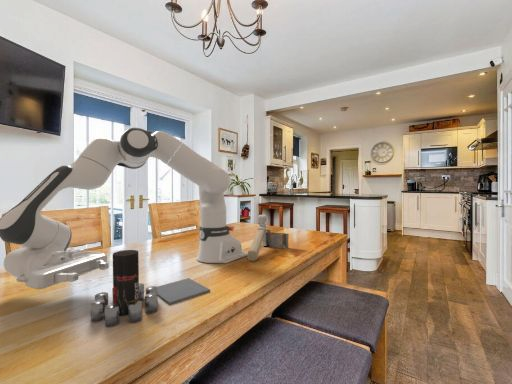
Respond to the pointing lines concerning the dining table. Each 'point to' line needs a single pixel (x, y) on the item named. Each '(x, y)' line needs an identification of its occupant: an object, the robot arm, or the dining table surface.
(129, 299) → the deodorant
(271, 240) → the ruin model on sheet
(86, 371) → the dining table surface
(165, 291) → the slate mat
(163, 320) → the dining table surface
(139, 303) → the grey upright cylinders
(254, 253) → the hammer
